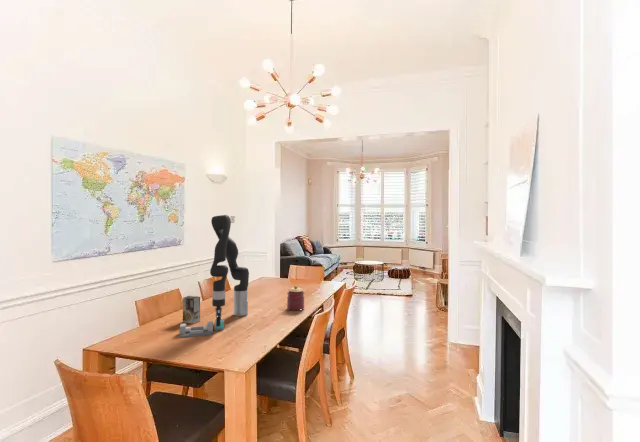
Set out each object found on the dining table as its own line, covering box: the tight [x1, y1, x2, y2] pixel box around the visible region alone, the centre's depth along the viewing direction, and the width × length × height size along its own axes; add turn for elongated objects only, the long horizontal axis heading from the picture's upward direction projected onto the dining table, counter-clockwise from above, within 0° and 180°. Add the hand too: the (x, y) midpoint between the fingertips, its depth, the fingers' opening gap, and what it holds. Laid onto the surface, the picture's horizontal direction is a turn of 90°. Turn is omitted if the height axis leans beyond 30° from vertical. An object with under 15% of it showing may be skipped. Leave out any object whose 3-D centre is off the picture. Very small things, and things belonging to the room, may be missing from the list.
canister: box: [286, 285, 305, 311], centre depth 255 cm, size 13×13×18 cm
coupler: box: [214, 318, 225, 331], centre depth 208 cm, size 5×5×5 cm
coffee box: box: [182, 295, 201, 324], centre depth 221 cm, size 9×6×16 cm
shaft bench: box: [179, 320, 214, 339], centre depth 200 cm, size 18×12×5 cm, turn 108°
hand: (218, 324), depth 208 cm, fingers open, 8 cm apart
